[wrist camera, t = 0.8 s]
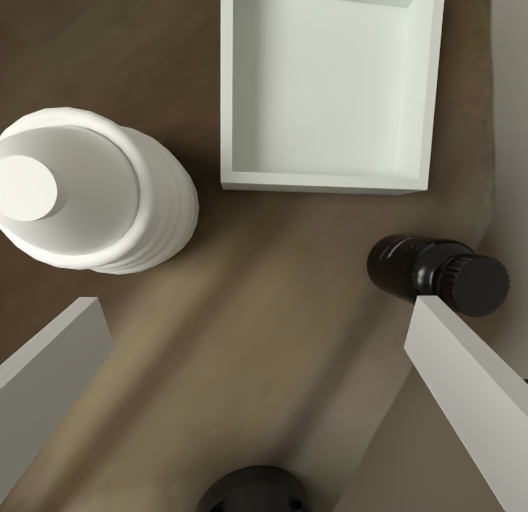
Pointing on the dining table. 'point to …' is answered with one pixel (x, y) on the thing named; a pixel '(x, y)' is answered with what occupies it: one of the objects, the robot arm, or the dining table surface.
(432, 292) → the supplement bottle
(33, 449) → the robot arm
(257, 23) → the tote
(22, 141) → the honey pot
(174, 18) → the dining table surface
